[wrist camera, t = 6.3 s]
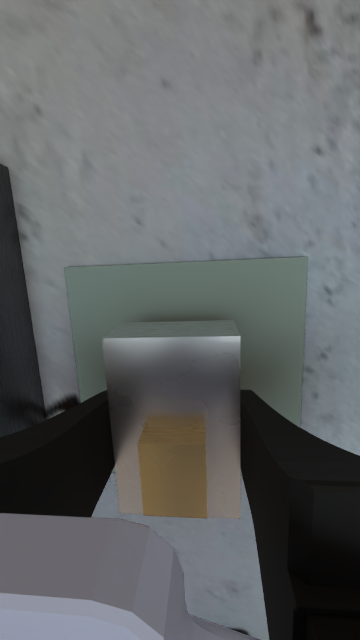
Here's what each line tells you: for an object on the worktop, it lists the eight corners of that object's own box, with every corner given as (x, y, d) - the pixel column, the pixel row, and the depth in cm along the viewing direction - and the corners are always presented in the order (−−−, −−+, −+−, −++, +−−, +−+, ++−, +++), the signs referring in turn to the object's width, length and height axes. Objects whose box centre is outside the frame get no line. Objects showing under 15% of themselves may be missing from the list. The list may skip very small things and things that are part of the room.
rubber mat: (305, 256, 14) (308, 256, 13) (295, 473, 16) (298, 478, 16) (67, 267, 15) (64, 267, 14) (91, 467, 17) (89, 471, 17)
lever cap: (233, 320, 11) (243, 344, 8) (234, 470, 13) (243, 542, 10) (123, 322, 12) (90, 346, 9) (135, 466, 13) (112, 534, 10)
